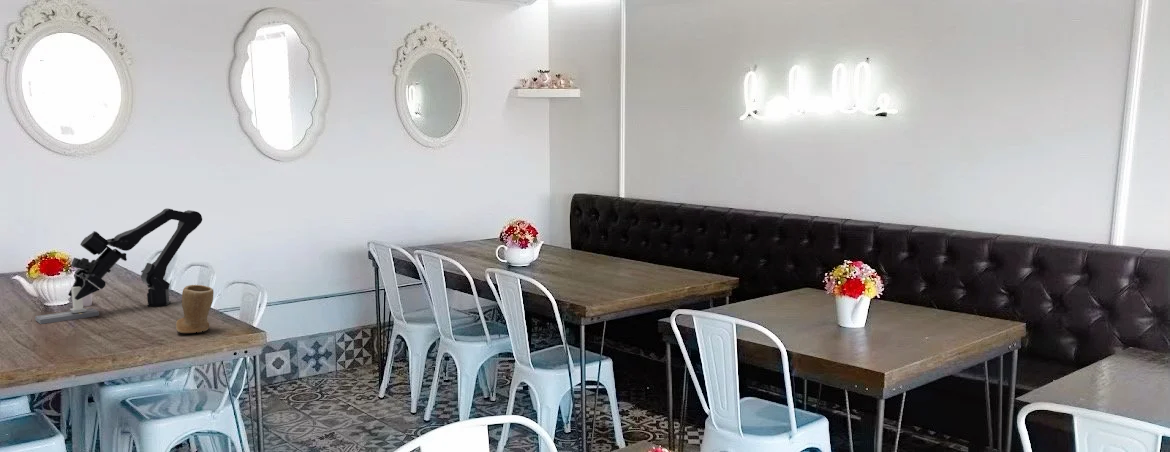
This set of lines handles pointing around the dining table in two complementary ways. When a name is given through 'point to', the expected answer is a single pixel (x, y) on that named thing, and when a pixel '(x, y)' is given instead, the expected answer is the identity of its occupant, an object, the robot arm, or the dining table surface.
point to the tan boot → (195, 309)
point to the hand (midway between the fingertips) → (72, 297)
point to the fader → (76, 301)
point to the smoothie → (87, 300)
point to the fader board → (65, 316)
